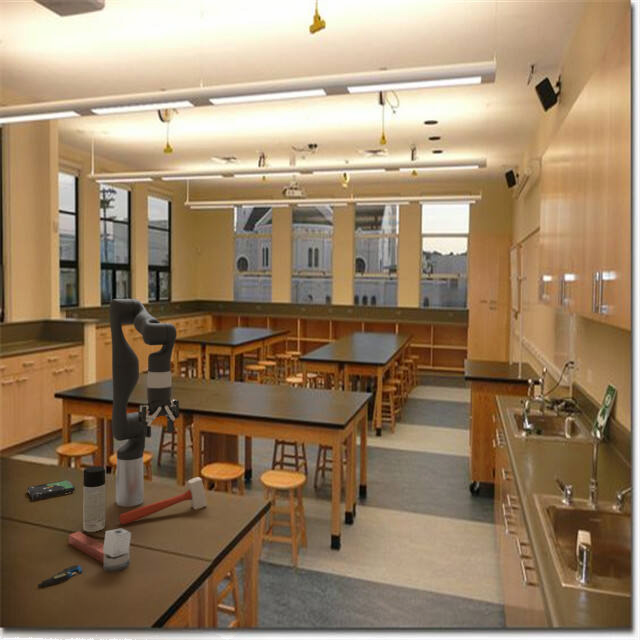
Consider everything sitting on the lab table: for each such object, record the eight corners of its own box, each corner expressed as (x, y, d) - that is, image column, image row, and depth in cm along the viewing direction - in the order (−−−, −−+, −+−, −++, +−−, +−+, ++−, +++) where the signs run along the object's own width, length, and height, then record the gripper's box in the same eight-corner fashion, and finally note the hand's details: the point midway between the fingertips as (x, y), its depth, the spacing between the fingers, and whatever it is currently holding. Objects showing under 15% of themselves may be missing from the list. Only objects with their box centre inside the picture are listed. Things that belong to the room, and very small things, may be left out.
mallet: (119, 509, 179) (203, 478, 196) (116, 505, 181) (199, 475, 199) (124, 538, 180) (207, 505, 197) (121, 534, 183) (203, 502, 200)
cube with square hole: (102, 552, 154) (105, 531, 154) (118, 548, 158) (121, 527, 158) (113, 557, 151) (115, 536, 151) (128, 553, 155) (131, 532, 155)
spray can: (100, 522, 182) (100, 464, 181) (108, 528, 178) (108, 469, 177) (80, 528, 178) (79, 468, 177) (88, 534, 173) (87, 473, 172)
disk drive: (32, 502, 199) (75, 493, 208) (32, 495, 199) (75, 486, 208) (27, 494, 207) (68, 485, 217) (27, 487, 207) (68, 478, 216)
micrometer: (78, 562, 153) (85, 568, 150) (78, 568, 153) (85, 575, 150) (33, 576, 145) (40, 584, 141) (33, 583, 145) (40, 591, 141)
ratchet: (63, 545, 165) (62, 525, 165) (84, 537, 171) (84, 517, 171) (112, 574, 149) (112, 552, 149) (134, 564, 155) (134, 542, 155)
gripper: (170, 380, 182) (169, 428, 183) (133, 386, 170) (133, 436, 171) (184, 383, 177) (184, 432, 178) (147, 389, 166) (147, 441, 167)
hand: (159, 434), depth 175 cm, fingers open, 8 cm apart
